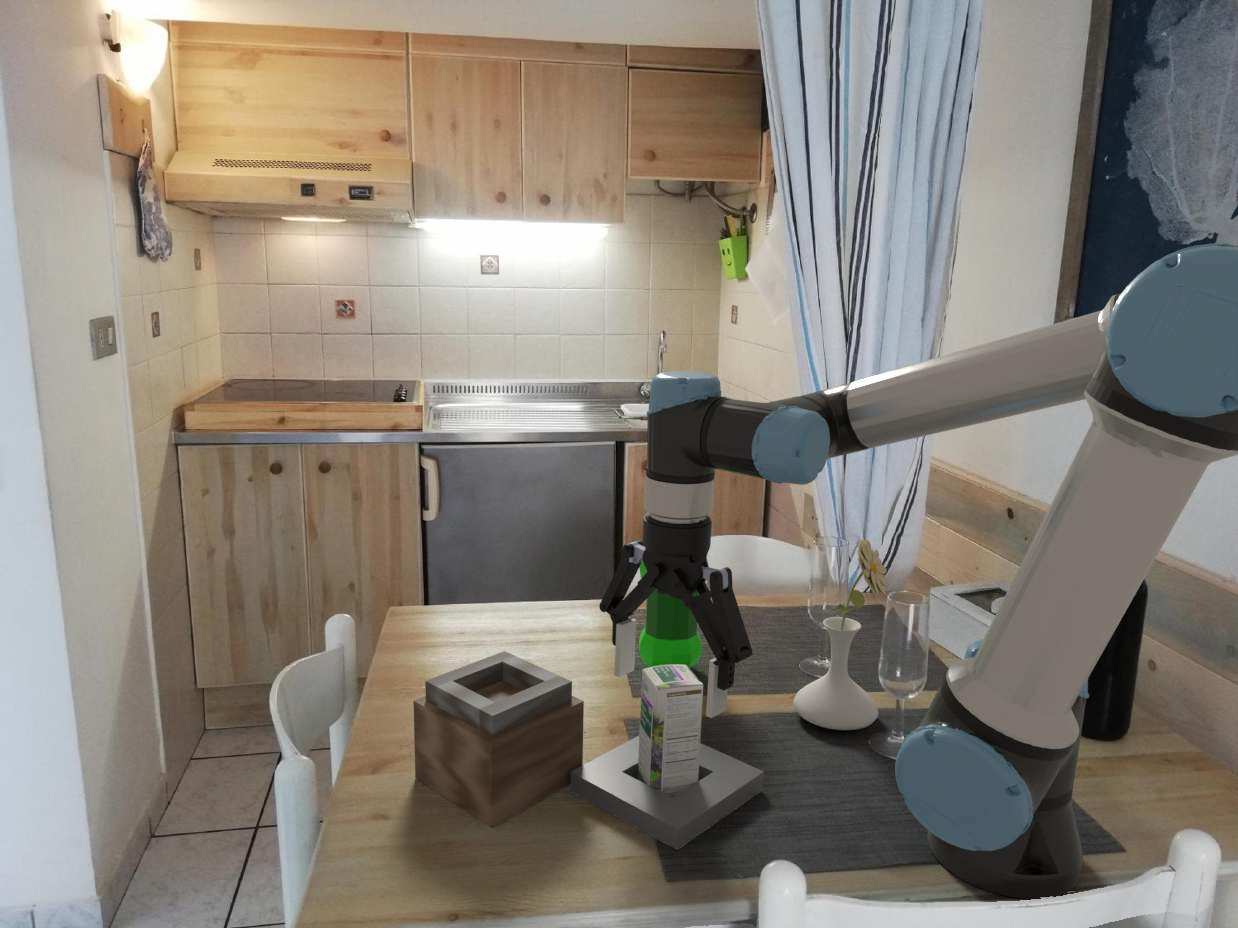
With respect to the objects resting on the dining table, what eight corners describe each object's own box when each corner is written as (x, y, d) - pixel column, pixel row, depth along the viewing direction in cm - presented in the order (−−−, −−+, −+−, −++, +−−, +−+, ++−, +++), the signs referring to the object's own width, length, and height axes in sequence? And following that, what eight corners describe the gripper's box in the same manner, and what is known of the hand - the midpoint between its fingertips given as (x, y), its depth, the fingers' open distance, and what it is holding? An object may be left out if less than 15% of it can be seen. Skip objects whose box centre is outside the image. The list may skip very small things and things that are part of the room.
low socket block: (762, 790, 110) (763, 771, 109) (677, 850, 98) (678, 829, 98) (658, 742, 120) (659, 724, 120) (570, 791, 109) (570, 771, 108)
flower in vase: (842, 747, 120) (858, 563, 115) (775, 713, 129) (786, 540, 123) (901, 718, 128) (918, 544, 123) (834, 688, 137) (847, 524, 132)
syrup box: (635, 779, 111) (638, 667, 108) (682, 772, 113) (686, 661, 110) (651, 806, 106) (655, 688, 103) (700, 798, 108) (705, 682, 104)
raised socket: (582, 777, 112) (584, 681, 109) (491, 827, 102) (491, 722, 99) (505, 736, 121) (505, 646, 118) (415, 778, 111) (413, 680, 108)
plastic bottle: (695, 688, 136) (703, 523, 130) (626, 677, 139) (631, 515, 134) (710, 661, 145) (718, 506, 140) (645, 651, 148) (650, 499, 143)
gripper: (794, 532, 97) (778, 719, 102) (617, 486, 113) (611, 649, 118) (753, 547, 91) (738, 744, 96) (573, 496, 108) (568, 666, 112)
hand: (668, 692), depth 107 cm, fingers open, 13 cm apart
